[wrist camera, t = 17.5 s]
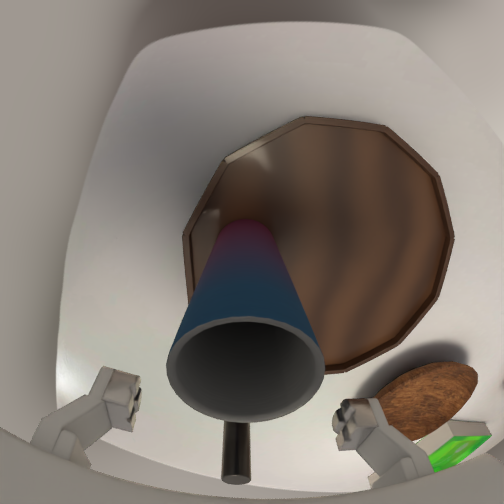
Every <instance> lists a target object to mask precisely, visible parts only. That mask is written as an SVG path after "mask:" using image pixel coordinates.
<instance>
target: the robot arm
mask: <svg viewBox="0 0 504 504" xmlns="http://www.w3.org/2000/svg"><path fill="white" fill-rule="evenodd" d="M140 383H141V379H140V376H138V375H134V374H130V373H127V372H123V371H120V370H116V369H113V368H109V367H106V366H103V367H102V368H101V369H100V371H99V373H98V376H97V378H96V380H95V382H94V384H93V386H92V388H91V390H90V393H89V395H83V396H81V397H80V398H78V399H76V400H74V401H73V402H71V403H69V404H67V405H66V406H64V407H62V408H60V409H58V410H57V411H55V412H53V413H51V414H49V415H48V416H46V417H44V418H42V419H41V421H40V423H39V425H38V427H37V429H36V431H35V433H34V435H33V437H32V440H31V442H30V443H28V442H26V441H24V440H22V439H20V438H18V437H17V436H15V435H13V434H11V433H10V432H8V431H6V430H4V429H3V428H1V427H0V504H504V464H503V463H502V462H501V461H499V460H498V459H496V458H495V457H493V456H492V455H489V454H482V455H479V456H477V457H475V458H473V459H470V460H468V461H465V462H463V463H460V464H458V465H455V466H452V467H450V468H447V469H444V470H441V471H438V472H434V470H433V467H432V465H431V463H430V460H429V458H428V456H427V453H426V452H425V451H424V450H423V449H421V448H420V447H419V446H417V445H416V444H415V443H413V442H412V441H411V440H410V439H408V438H407V437H406V436H404V435H403V434H402V433H401V432H399V431H398V430H397V429H395V428H394V427H393V426H392V425H391V426H389V425H388V422H387V420H386V417H385V415H384V413H383V410H382V408H381V405H380V403H379V401H378V399H377V398H366V399H365V398H360V399H345V400H343V401H342V402H341V404H340V405H341V408H340V409H338V410H336V412H335V413H334V415H333V419H332V426H333V430H334V431H335V432H336V433H337V434H338V435H337V437H336V442H337V446H338V450H339V451H345V450H356V451H357V452H358V454H359V455H360V456H361V457H362V458H363V459H364V460H365V461H366V462H367V463H368V465H369V466H370V467H371V468H372V469H373V470H374V471H375V472H376V473H377V474H378V475H379V476H380V477H379V478H378V479H377V480H376V481H375V482H373V484H372V489H370V490H365V491H359V492H353V493H347V494H339V495H331V496H321V497H310V498H294V499H246V498H245V499H244V498H228V497H217V496H207V495H199V494H191V493H185V492H178V491H172V490H167V489H162V488H157V487H153V486H148V485H144V484H140V483H136V482H132V481H128V480H124V479H120V478H117V477H114V476H110V475H107V474H104V473H101V472H98V471H95V470H92V469H90V467H91V463H90V461H89V460H88V458H87V456H86V454H85V452H84V450H86V449H87V448H88V447H89V446H91V445H92V444H93V443H94V442H96V441H97V440H98V439H99V438H101V437H102V436H103V435H104V434H105V433H107V432H108V431H109V430H110V429H112V427H113V428H117V429H121V430H125V431H129V432H133V428H134V425H135V421H136V415H135V413H136V412H137V411H139V407H140V403H141V395H142V392H141V388H140V387H139V386H140Z"/></svg>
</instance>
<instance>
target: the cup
mask: <svg viewBox="0 0 504 504" xmlns="http://www.w3.org/2000/svg"><path fill="white" fill-rule="evenodd" d="M166 368H167V376H168V379H169V382H170V385H171V387H172V388H173V390H174V391H175V393H176V394H177V395H178V396H179V397H180V398H181V399H182V400H183V401H184V402H185V403H186V404H187V405H189V406H190V407H192V408H193V409H194V410H196V411H198V412H200V413H202V414H204V415H207V416H210V417H213V418H216V419H219V420H224V421H229V422H239V423H252V422H262V421H268V420H272V419H276V418H279V417H282V416H285V415H287V414H289V413H291V412H294V411H295V410H297V409H298V408H300V407H302V406H303V405H304V404H306V403H307V402H308V401H309V400H310V399H311V398H312V397H313V396H314V395H315V393H316V392H317V391H318V389H319V388H320V386H321V383H322V381H323V379H324V373H325V362H324V357H323V354H322V352H321V349H320V347H319V344H318V342H317V339H316V337H315V334H314V332H313V330H312V327H311V325H310V322H309V320H308V318H307V315H306V313H305V310H304V308H303V306H302V303H301V301H300V298H299V296H298V294H297V291H296V289H295V287H294V284H293V282H292V280H291V277H290V275H289V273H288V270H287V268H286V266H285V263H284V261H283V259H282V256H281V254H280V252H279V249H278V247H277V245H276V243H275V240H274V238H273V236H272V234H271V232H270V231H269V229H268V228H267V227H266V226H264V225H263V224H262V223H260V222H258V221H255V220H251V219H240V220H236V221H233V222H231V223H229V224H228V225H227V226H225V227H224V228H223V229H222V230H221V232H220V234H219V235H218V238H217V240H216V242H215V244H214V247H213V249H212V251H211V254H210V256H209V258H208V260H207V263H206V265H205V267H204V270H203V272H202V274H201V277H200V279H199V281H198V284H197V286H196V288H195V291H194V293H193V296H192V298H191V300H190V303H189V305H188V307H187V310H186V312H185V315H184V317H183V320H182V322H181V325H180V327H179V329H178V332H177V334H176V337H175V339H174V342H173V344H172V347H171V349H170V352H169V355H168V359H167V363H166Z"/></svg>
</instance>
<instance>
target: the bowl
mask: <svg viewBox="0 0 504 504" xmlns="http://www.w3.org/2000/svg"><path fill="white" fill-rule="evenodd" d="M477 384H478V374H477V372H476V371H475V370H474V369H473V368H472V367H470V366H468V365H465V364H461V363H457V362H453V361H450V362H435V363H430V364H427V365H424V366H421V367H418V368H415V369H412V370H410V371H408V372H406V373H404V374H402V375H400V376H399V377H398V378H396V379H395V380H394V381H392V382H391V383H389V384H388V385H386V386H385V387H384V388H382V389H381V390H380V391H379V392H378V393H377V394H376V395H375V396H374V397H373V398H377V399H378V401H379V403H380V405H381V408H382V410H383V413H384V415H385V417H386V420H387V422H388V425H389V426H391V425H392V426H393V427H394V428H395V429H397V430H398V431H399V432H401V433H402V434H403V435H404V436H406V437H407V438H408V439H410V440H411V441H414V440H417V439H420V438H423V437H424V436H426V435H428V434H430V433H432V432H434V431H435V430H437V429H438V428H440V427H441V426H442V425H444V424H445V423H446V422H448V421H449V420H450V419H451V418H452V417H453V416H454V415H455V414H456V413H457V412H458V411H459V410H460V409H461V408H462V407H463V406H464V404H465V403H466V402H467V401H468V400H469V398H470V397H471V395H472V393H473V391H474V390H475V388H476V386H477Z"/></svg>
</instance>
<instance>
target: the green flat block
mask: <svg viewBox="0 0 504 504" xmlns="http://www.w3.org/2000/svg"><path fill="white" fill-rule="evenodd" d="M491 436H492V434H491V433H490V431H489V429H488V427H487V426H486V424H485V423H477V422H464V421H454V420H449V421H448V422H446V423H445V424H444V425H442V426H441V427H440V428H438V429H437V430H435V431H434V432H432V433H430V434H428V435H426V436H425V437H424V438H423V439H421V440H420V441H419V442H418V443H416V445H417V446H419V447H420V448H421V449H423V450H424V451H425V452H426V453H427V456H428V458H429V460H430V463H431V465H432V467H433V470H434V472H438V471H441V470H444V469H447V468H450V467H452V466H455V465H457V464H458V463H459V462H461V461H462V460H463V459H464V458H466V457H467V456H468V455H470V454H471V453H472V452H473V451H475V450H476V449H477V448H478V447H479V446H481V445H482V444H483V443H484V442H485V441H486V440H488V439H489V438H490V437H491ZM379 477H380V476H379V475H378V474H377V473H376V472H375V473H373V474H372V475H370V476H369V477H368V479H369V483H370V487H371V489H372V484H373V482H375V481H376V480H377V479H378V478H379Z"/></svg>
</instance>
